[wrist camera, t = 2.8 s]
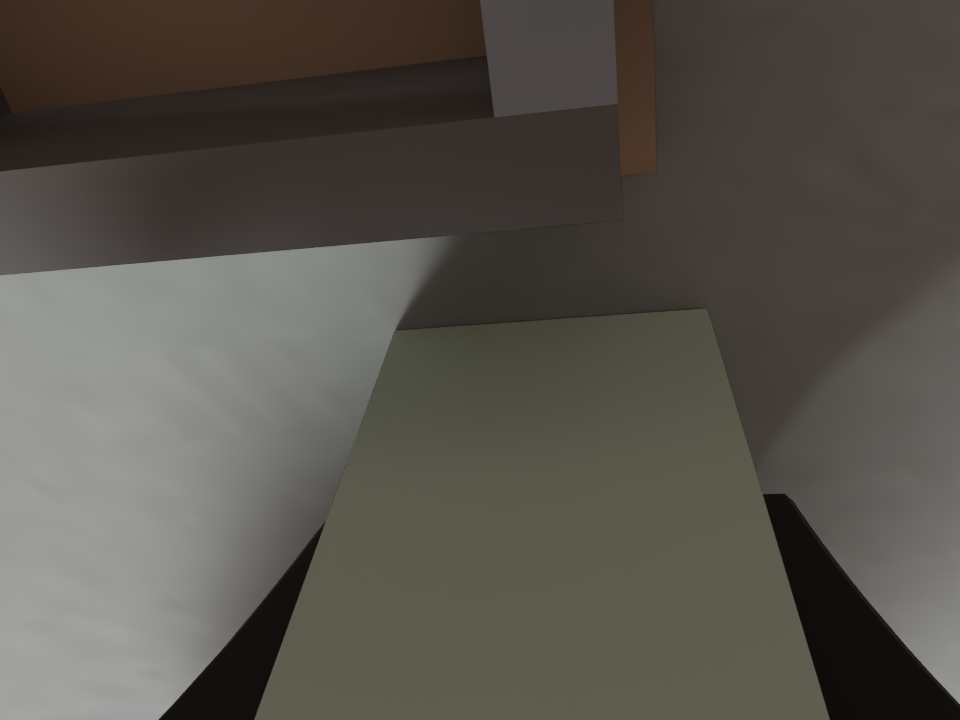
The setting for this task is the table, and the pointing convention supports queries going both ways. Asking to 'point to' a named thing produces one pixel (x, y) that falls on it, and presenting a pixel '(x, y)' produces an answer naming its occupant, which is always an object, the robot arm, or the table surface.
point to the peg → (548, 539)
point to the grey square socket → (311, 123)
